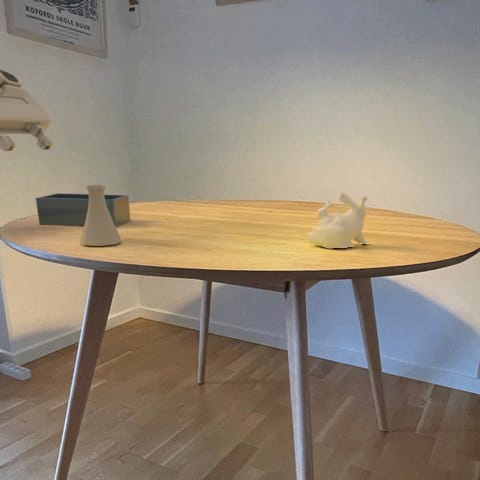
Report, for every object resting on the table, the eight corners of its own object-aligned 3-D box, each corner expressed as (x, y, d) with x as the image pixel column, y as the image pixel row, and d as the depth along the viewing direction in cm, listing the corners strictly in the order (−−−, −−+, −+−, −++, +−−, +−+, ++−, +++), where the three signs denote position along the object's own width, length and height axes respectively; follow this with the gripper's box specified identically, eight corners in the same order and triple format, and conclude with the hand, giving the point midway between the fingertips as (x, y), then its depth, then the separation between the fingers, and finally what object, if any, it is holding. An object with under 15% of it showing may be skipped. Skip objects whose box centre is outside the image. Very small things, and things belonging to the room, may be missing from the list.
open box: (39, 224, 101) (35, 197, 99) (59, 217, 110) (56, 193, 108) (115, 227, 99) (113, 200, 97) (130, 220, 108) (128, 195, 106)
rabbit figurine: (370, 243, 87) (376, 189, 83) (381, 253, 79) (388, 194, 76) (305, 242, 87) (309, 188, 83) (310, 251, 80) (314, 193, 76)
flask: (78, 248, 80) (71, 187, 77) (82, 239, 87) (76, 183, 83) (121, 246, 82) (116, 187, 78) (122, 238, 88) (117, 183, 85)
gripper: (-74, 62, 69) (-8, 133, 70) (23, 77, 87) (75, 134, 88) (-90, 95, 72) (-26, 164, 73) (8, 104, 90) (58, 158, 91)
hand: (30, 147), depth 81 cm, fingers open, 8 cm apart
